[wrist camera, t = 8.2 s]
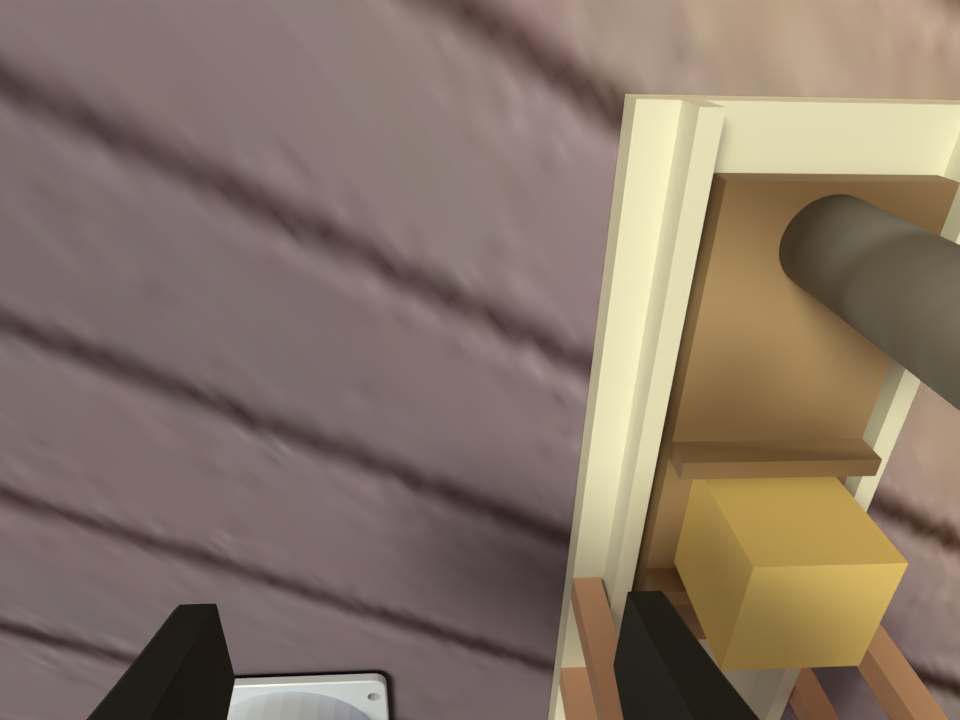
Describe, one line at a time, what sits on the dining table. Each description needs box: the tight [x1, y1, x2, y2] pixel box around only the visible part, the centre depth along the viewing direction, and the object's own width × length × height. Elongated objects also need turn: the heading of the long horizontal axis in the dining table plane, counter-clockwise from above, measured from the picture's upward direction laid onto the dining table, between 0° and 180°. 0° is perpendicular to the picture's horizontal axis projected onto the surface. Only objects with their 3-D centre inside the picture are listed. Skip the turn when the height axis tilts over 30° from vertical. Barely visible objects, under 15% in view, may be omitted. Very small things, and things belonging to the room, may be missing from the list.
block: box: [674, 477, 908, 671], centre depth 19 cm, size 4×4×4 cm
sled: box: [632, 173, 960, 640], centre depth 17 cm, size 16×6×7 cm, turn 179°
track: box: [548, 94, 960, 720], centre depth 20 cm, size 32×10×8 cm, turn 179°
